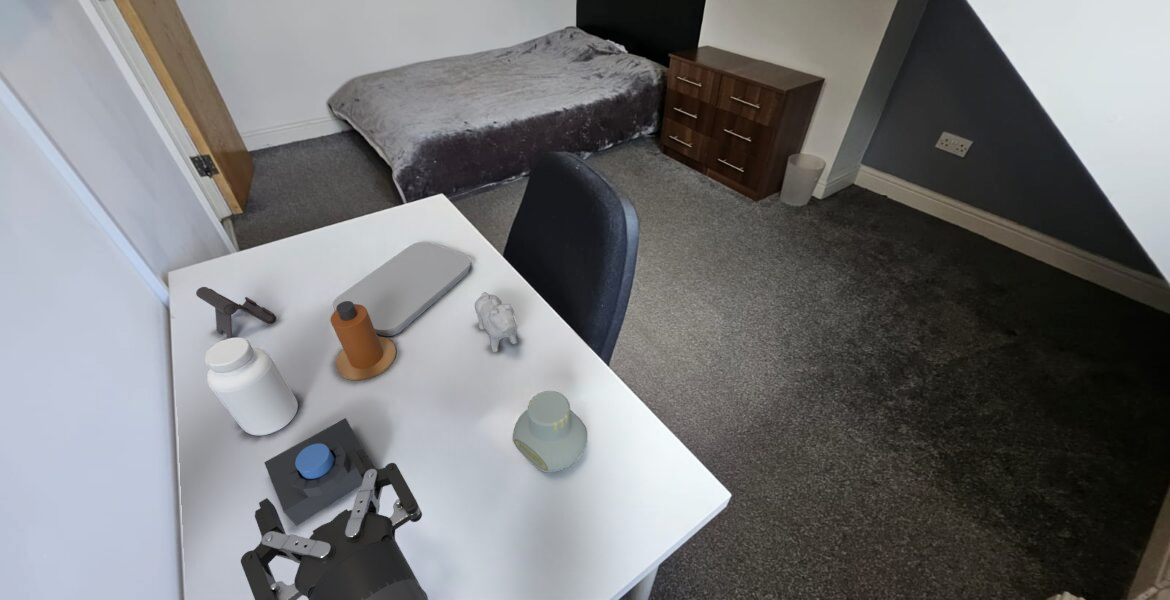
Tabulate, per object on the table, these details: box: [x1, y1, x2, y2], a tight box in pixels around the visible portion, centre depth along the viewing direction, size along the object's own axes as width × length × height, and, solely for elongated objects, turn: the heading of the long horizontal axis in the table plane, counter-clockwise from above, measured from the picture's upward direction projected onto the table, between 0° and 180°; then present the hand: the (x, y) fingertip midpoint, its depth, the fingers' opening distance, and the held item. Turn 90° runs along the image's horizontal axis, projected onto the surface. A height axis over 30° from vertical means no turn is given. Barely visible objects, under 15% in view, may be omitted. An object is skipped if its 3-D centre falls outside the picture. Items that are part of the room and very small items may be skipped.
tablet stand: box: [195, 286, 278, 339], centre depth 86 cm, size 9×8×8 cm
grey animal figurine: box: [474, 291, 519, 353], centre depth 84 cm, size 5×13×11 cm, turn 32°
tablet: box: [331, 241, 472, 337], centre depth 97 cm, size 16×26×2 cm, turn 152°
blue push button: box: [295, 444, 334, 480], centre depth 61 cm, size 4×4×2 cm
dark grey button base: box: [263, 417, 366, 527], centre depth 64 cm, size 11×10×6 cm
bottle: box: [329, 301, 383, 369], centre depth 79 cm, size 6×6×12 cm
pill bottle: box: [204, 337, 299, 436], centre depth 69 cm, size 8×8×15 cm
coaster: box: [335, 335, 397, 381], centre depth 83 cm, size 10×10×1 cm
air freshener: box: [512, 390, 588, 473], centre depth 67 cm, size 11×8×10 cm
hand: (311, 477), depth 48 cm, fingers open, 8 cm apart
